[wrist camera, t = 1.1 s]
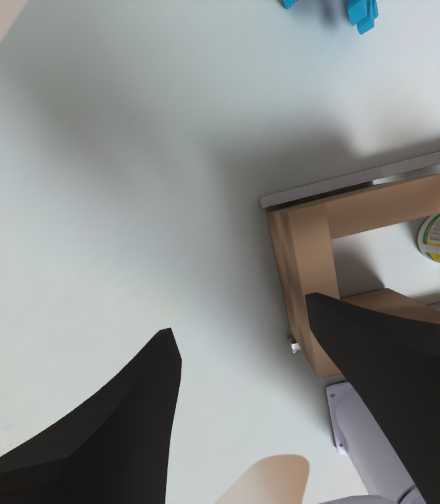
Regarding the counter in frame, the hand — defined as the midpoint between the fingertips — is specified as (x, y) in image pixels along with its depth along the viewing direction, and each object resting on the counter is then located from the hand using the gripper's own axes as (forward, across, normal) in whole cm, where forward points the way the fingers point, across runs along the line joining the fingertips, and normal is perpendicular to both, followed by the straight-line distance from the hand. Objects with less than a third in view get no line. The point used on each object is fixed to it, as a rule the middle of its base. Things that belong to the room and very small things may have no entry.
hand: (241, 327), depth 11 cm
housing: (+10, -10, +2) cm, 15 cm away
